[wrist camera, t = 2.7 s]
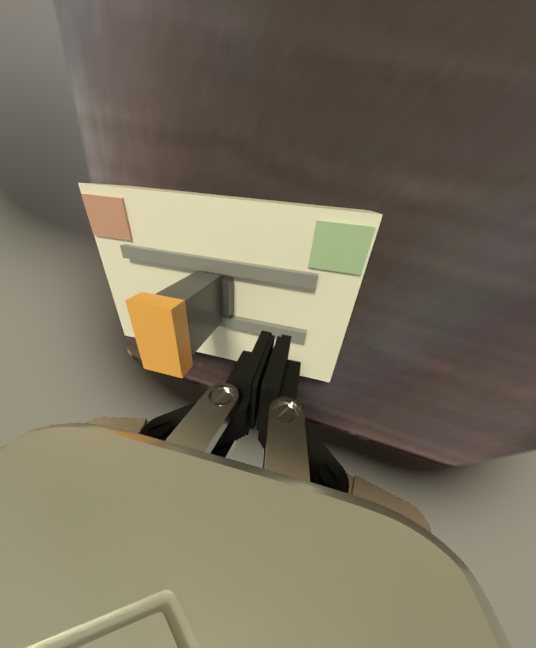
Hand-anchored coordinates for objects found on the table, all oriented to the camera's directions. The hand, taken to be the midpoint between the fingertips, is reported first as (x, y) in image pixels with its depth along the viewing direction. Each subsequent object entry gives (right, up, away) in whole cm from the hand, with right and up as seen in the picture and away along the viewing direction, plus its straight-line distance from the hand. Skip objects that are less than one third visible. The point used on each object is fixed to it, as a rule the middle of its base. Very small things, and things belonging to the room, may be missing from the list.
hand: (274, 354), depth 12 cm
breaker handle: (-5, +4, +6) cm, 9 cm away
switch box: (-4, +7, +10) cm, 13 cm away
